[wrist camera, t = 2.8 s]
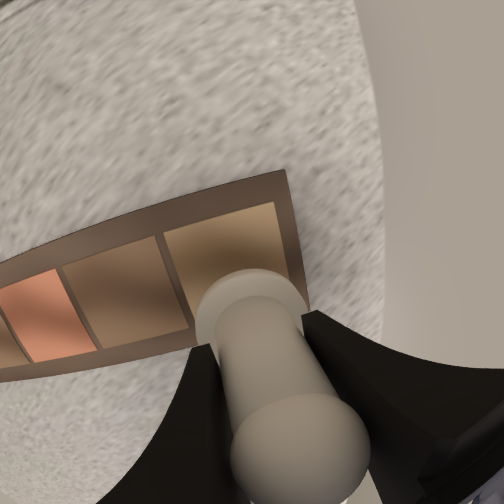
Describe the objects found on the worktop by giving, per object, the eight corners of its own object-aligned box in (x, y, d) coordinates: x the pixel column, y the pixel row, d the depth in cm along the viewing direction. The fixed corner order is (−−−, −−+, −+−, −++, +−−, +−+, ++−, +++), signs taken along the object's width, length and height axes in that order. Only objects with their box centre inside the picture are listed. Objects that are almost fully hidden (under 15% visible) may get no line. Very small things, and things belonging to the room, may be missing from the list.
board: (308, 308, 19) (311, 311, 19) (-8, 381, 16) (-9, 384, 16) (283, 169, 16) (285, 170, 15) (-60, 292, 13) (-63, 294, 13)
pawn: (307, 342, 13) (397, 495, 5) (213, 371, 13) (247, 547, 5) (293, 254, 11) (434, 420, 4) (179, 287, 11) (183, 507, 3)
